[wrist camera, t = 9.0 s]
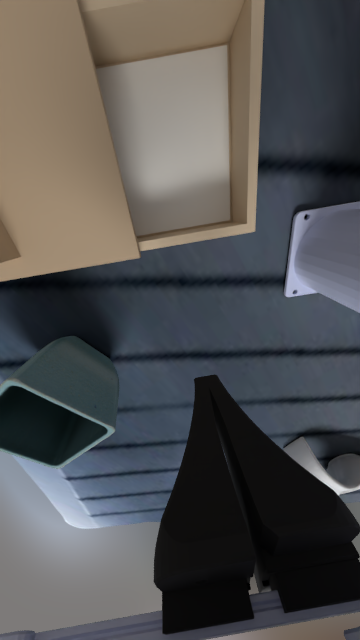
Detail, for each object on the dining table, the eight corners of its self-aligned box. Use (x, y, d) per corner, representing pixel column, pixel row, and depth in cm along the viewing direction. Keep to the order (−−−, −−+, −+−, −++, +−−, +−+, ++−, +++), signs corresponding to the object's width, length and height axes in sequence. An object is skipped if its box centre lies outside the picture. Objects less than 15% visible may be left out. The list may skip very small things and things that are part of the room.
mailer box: (235, 32, 12) (266, -46, 8) (236, 228, 17) (255, 231, 14) (-18, 78, 12) (-94, 21, 8) (62, 258, 17) (36, 269, 14)
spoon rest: (381, 453, 41) (420, 496, 35) (335, 477, 45) (363, 519, 39) (314, 423, 34) (348, 471, 27) (267, 456, 38) (287, 503, 32)
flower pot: (89, 394, 26) (57, 472, 18) (26, 359, 22) (-49, 437, 14) (133, 359, 23) (117, 431, 16) (69, 313, 20) (7, 376, 12)
